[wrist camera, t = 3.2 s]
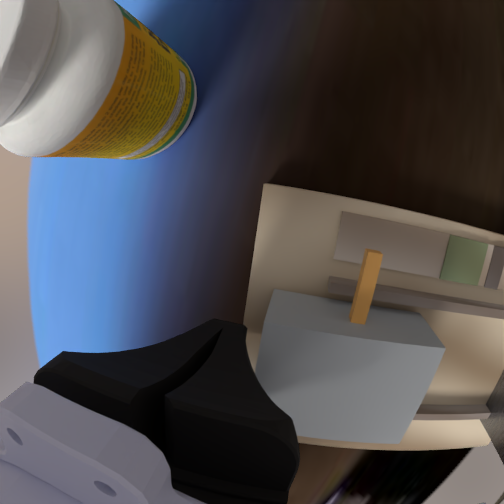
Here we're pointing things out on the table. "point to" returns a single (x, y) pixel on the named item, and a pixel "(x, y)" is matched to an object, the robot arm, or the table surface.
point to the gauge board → (393, 295)
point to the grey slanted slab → (496, 417)
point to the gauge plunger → (347, 362)
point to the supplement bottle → (88, 82)
